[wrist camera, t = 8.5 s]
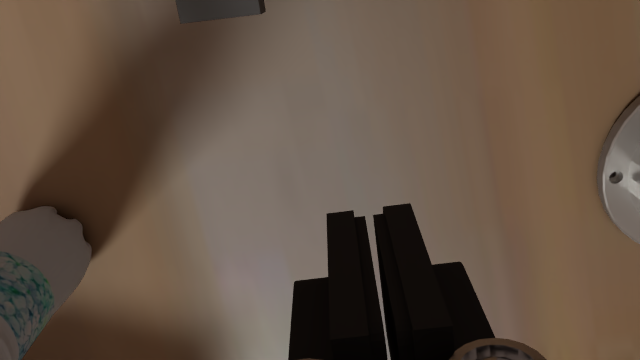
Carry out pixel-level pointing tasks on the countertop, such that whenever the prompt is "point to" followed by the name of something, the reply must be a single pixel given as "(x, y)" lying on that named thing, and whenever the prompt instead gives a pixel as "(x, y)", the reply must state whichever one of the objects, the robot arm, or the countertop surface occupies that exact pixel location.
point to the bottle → (36, 273)
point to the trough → (217, 9)
